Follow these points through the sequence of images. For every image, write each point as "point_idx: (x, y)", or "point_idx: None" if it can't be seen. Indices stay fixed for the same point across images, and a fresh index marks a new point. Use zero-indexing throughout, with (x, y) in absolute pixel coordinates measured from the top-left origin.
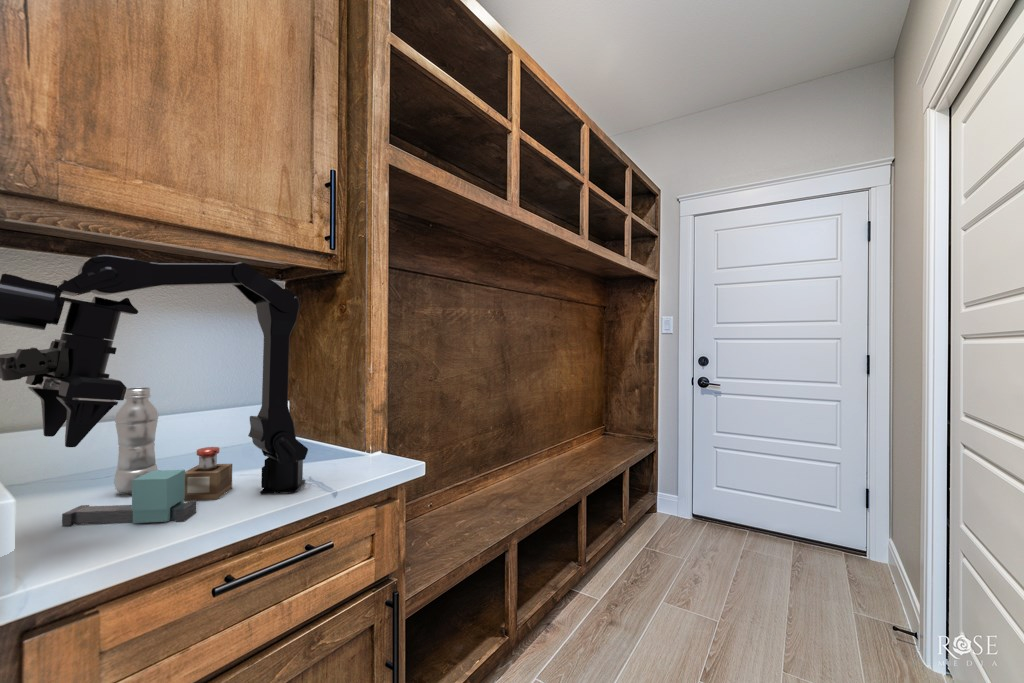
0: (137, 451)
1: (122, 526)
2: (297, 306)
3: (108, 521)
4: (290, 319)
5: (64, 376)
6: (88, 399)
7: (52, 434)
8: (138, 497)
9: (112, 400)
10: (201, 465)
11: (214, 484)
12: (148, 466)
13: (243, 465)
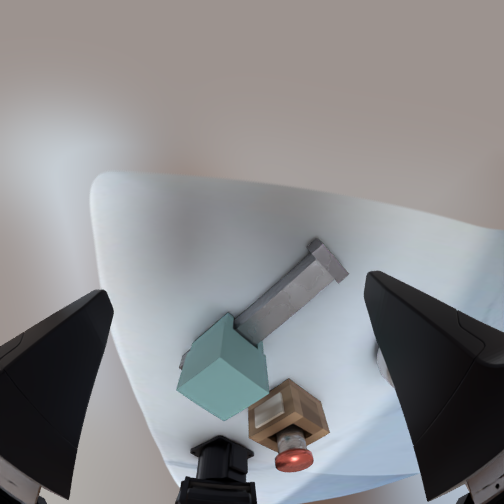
0: None
1: (234, 299)
2: None
3: (270, 290)
4: None
5: None
6: None
7: (365, 296)
8: (215, 342)
9: (48, 490)
10: (287, 437)
11: (251, 421)
12: (392, 383)
13: (372, 444)
